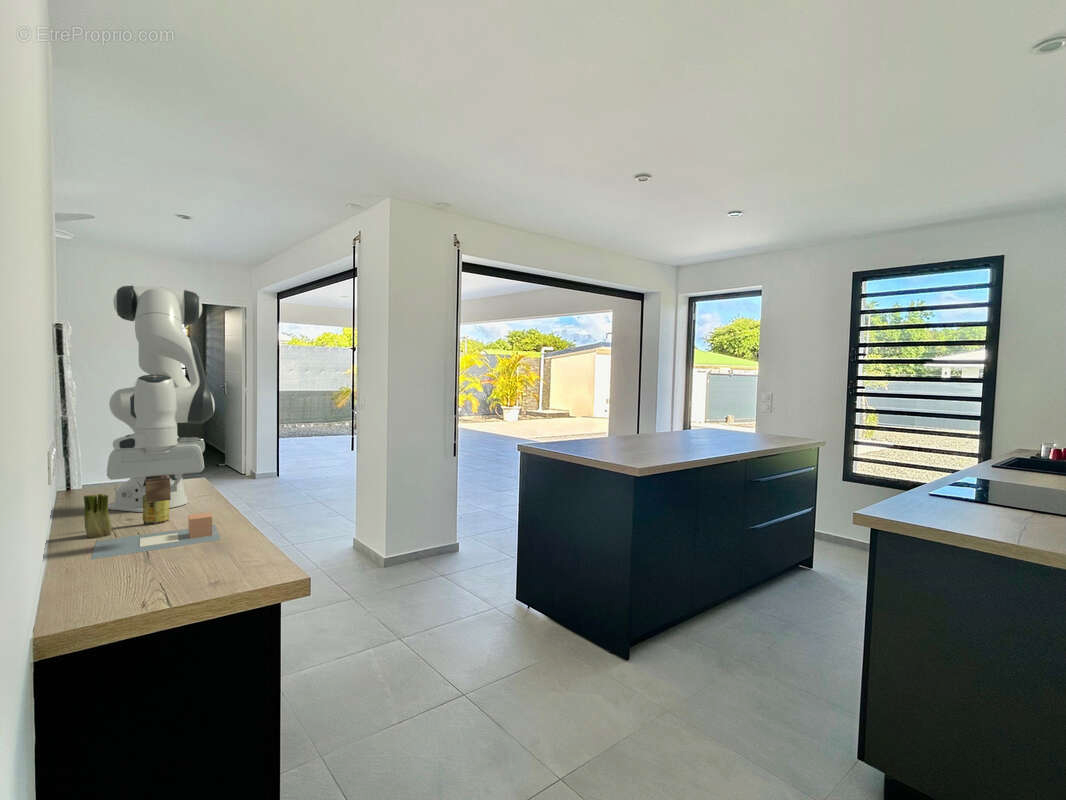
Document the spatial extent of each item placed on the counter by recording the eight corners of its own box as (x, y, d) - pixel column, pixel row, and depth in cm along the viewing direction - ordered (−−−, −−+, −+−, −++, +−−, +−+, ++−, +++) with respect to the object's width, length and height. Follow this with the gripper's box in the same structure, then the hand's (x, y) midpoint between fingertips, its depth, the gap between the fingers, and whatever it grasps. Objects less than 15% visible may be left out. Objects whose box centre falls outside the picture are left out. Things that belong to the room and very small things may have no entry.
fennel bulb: (81, 540, 140) (80, 494, 140) (103, 535, 145) (101, 490, 144) (94, 543, 138) (92, 497, 137) (115, 538, 142) (114, 493, 142)
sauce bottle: (138, 526, 153) (136, 457, 152) (162, 521, 159) (160, 454, 158) (151, 529, 150) (149, 458, 149) (174, 524, 156) (173, 455, 154)
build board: (91, 563, 124) (90, 558, 124) (96, 544, 137) (96, 540, 137) (221, 543, 139) (221, 539, 139) (215, 528, 152) (215, 524, 152)
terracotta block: (189, 538, 139) (189, 519, 139) (188, 533, 143) (188, 515, 143) (212, 535, 142) (211, 516, 142) (210, 530, 146) (210, 512, 146)
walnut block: (146, 502, 133) (145, 482, 133) (146, 498, 138) (145, 479, 137) (170, 499, 136) (170, 480, 136) (169, 496, 140) (169, 477, 140)
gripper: (203, 435, 145) (204, 486, 146) (106, 440, 133) (108, 495, 134) (205, 437, 140) (206, 490, 140) (105, 443, 128) (107, 500, 129)
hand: (158, 493), depth 137 cm, fingers closed on walnut block, 5 cm apart
